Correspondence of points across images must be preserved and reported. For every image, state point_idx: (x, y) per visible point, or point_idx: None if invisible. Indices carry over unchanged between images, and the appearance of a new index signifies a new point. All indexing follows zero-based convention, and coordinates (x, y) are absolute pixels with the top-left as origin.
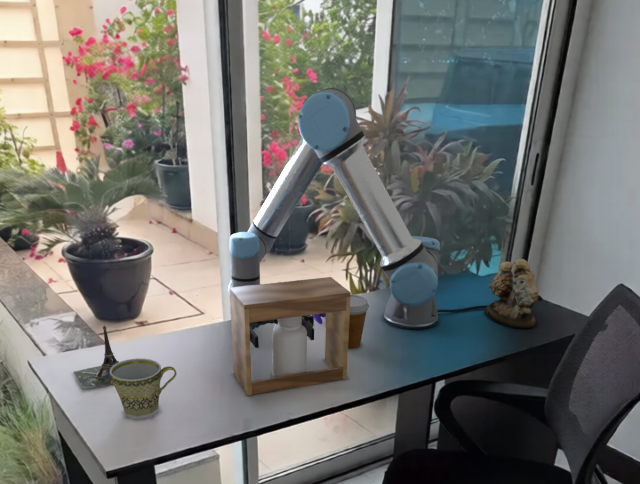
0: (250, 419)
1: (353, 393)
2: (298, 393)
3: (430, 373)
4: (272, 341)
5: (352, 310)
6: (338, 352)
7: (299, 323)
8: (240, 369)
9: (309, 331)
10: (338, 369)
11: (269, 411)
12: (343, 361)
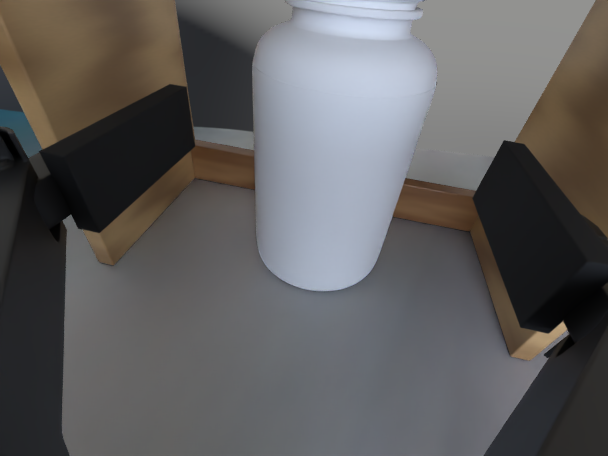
0: (482, 170)
1: (236, 140)
2: None
3: (20, 114)
4: (422, 127)
5: None
6: None
7: None
8: None
9: (175, 119)
10: (210, 143)
11: (437, 170)
12: (191, 119)
